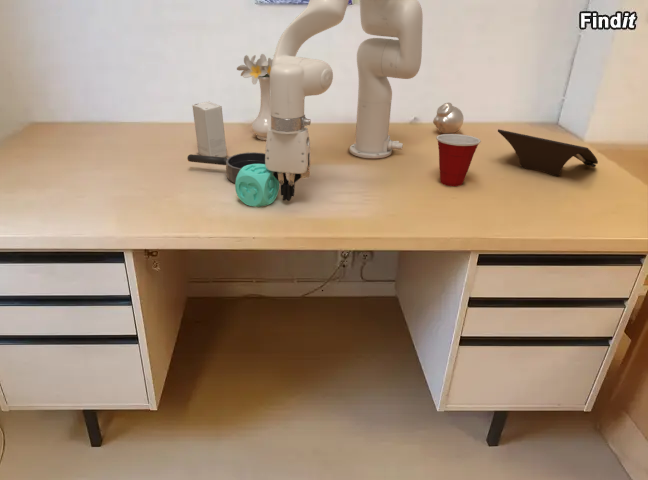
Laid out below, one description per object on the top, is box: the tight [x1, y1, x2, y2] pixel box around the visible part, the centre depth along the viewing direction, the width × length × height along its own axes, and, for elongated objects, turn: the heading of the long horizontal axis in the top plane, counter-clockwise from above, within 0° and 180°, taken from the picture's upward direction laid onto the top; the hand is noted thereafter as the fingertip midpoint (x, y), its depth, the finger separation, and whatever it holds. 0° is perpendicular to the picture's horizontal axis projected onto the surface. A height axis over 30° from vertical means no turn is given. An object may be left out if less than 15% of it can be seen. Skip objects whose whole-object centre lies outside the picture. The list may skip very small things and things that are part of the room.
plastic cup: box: [435, 133, 482, 187], centre depth 142 cm, size 11×11×12 cm
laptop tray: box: [497, 128, 599, 177], centre depth 151 cm, size 23×23×9 cm
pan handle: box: [186, 154, 228, 166], centre depth 150 cm, size 12×2×2 cm, turn 74°
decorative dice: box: [234, 164, 281, 208], centre depth 134 cm, size 8×8×8 cm
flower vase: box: [236, 53, 273, 141], centre depth 172 cm, size 13×18×25 cm
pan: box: [225, 151, 265, 184], centre depth 148 cm, size 13×13×4 cm
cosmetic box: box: [191, 100, 228, 158], centre depth 160 cm, size 8×6×15 cm
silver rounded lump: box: [432, 102, 464, 135], centre depth 177 cm, size 9×10×10 cm
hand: (287, 198), depth 133 cm, fingers closed
